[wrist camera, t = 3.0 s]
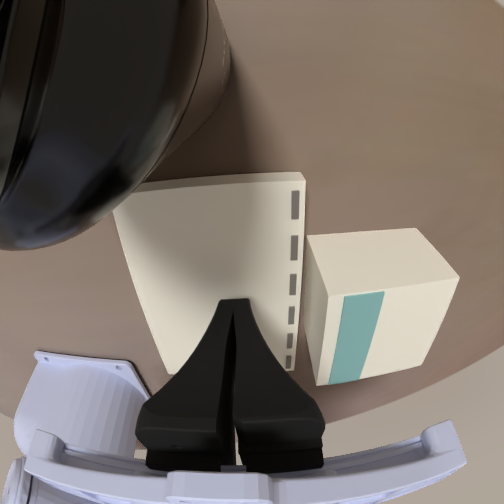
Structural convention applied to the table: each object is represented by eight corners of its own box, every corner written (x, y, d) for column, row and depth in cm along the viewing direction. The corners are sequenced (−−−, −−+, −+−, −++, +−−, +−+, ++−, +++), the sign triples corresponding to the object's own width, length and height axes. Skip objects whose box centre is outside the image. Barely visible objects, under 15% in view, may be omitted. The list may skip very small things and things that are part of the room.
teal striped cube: (303, 323, 17) (316, 387, 13) (306, 234, 14) (329, 297, 10) (394, 310, 17) (421, 366, 13) (414, 226, 14) (460, 278, 10)
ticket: (171, 359, 19) (168, 375, 18) (119, 186, 12) (108, 197, 11) (291, 355, 19) (294, 371, 18) (300, 171, 12) (306, 181, 11)
